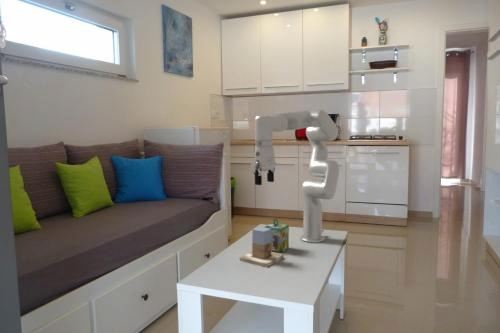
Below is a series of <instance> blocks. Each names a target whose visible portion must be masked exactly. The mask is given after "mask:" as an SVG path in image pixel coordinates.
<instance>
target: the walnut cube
mask: <svg viewBox="0 0 500 333" xmlns="http://www.w3.org/2000/svg"><path fill="white" fill-rule="evenodd" d="M251 246H252V247H251V249H252V251H251V252H252V256H253V257H257V258H262V259H265V258H267V257H269V256H271V252H272V251H271V242H270V243H268V244H266V245H260V244H255V243H252V244H251Z"/></svg>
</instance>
